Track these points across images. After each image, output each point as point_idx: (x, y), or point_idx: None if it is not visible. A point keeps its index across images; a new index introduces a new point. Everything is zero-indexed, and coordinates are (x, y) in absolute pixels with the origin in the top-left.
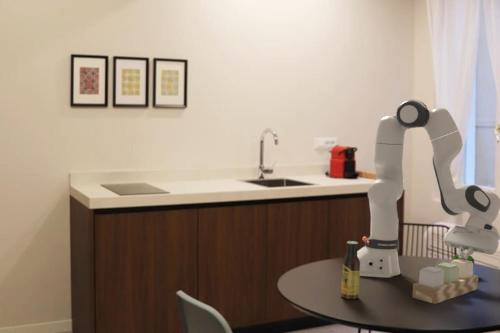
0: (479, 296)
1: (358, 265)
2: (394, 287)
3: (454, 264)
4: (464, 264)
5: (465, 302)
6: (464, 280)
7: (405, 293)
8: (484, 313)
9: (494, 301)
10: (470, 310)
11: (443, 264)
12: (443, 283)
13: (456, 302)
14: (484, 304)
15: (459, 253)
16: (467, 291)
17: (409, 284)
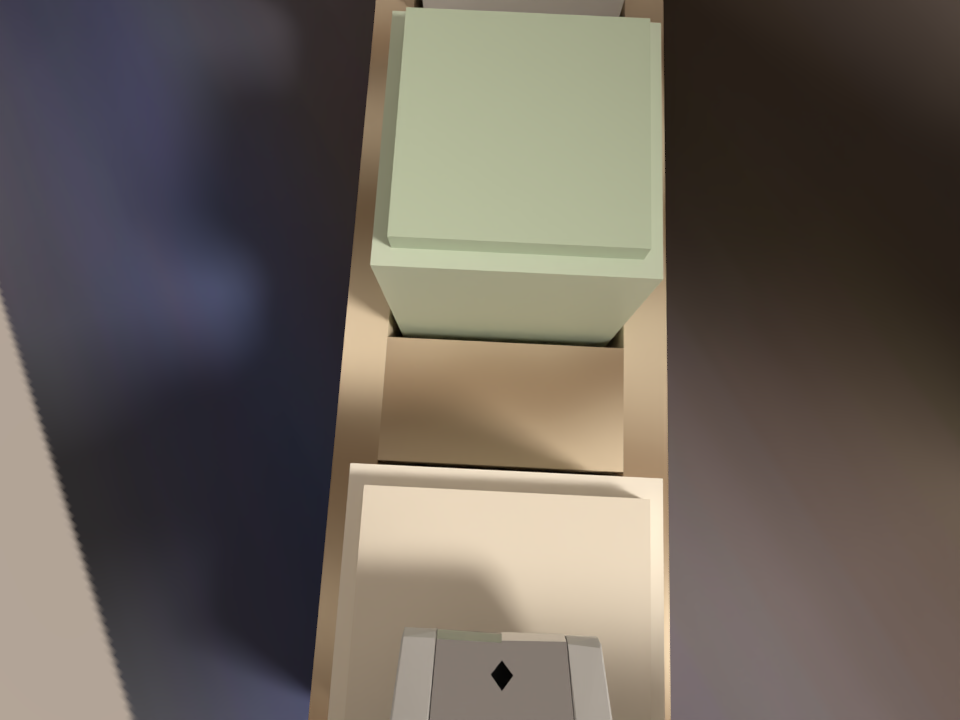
0: (218, 451)
1: None
2: (921, 86)
3: (451, 235)
4: (373, 487)
5: (241, 168)
6: (342, 381)
7: (739, 9)
8: (8, 22)
9: (44, 407)
10: (123, 8)
11: (580, 92)
12: (423, 3)
13: (300, 110)
14: (88, 243)
15: (593, 689)
16: None
17: (910, 281)
